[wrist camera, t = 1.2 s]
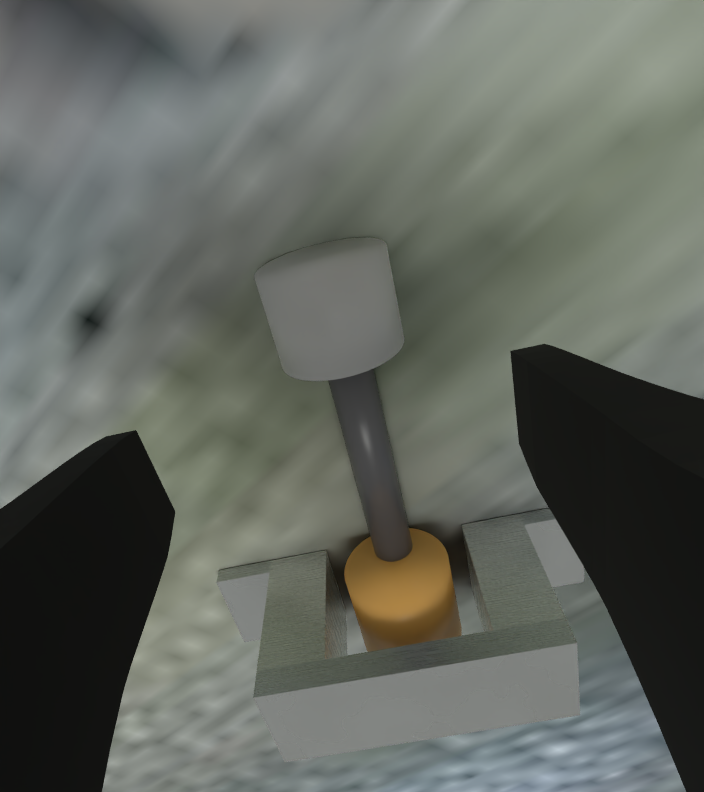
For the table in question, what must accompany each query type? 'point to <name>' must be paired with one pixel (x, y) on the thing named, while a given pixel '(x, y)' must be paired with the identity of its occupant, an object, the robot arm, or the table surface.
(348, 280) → the plug
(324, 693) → the housing
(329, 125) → the table surface
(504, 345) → the table surface
